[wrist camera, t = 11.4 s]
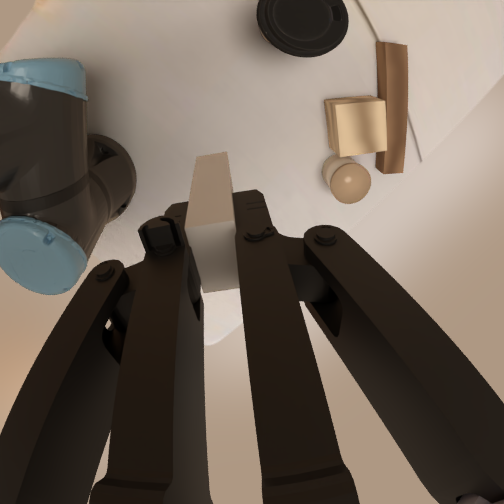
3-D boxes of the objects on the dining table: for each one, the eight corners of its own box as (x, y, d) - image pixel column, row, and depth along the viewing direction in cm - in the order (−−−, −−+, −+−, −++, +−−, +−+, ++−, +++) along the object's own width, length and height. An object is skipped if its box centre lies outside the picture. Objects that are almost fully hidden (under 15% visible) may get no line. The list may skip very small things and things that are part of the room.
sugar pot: (320, 189, 50) (331, 206, 45) (319, 153, 46) (331, 166, 41) (355, 185, 50) (369, 201, 45) (357, 150, 46) (372, 163, 41)
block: (328, 147, 45) (340, 157, 41) (323, 99, 40) (335, 105, 36) (372, 140, 45) (386, 150, 41) (369, 95, 40) (385, 100, 36)
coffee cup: (324, 35, 34) (371, 31, 22) (273, 69, 37) (300, 75, 25) (284, -12, 29) (316, -40, 17) (231, 21, 32) (238, 3, 20)
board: (375, 167, 48) (383, 174, 45) (375, 42, 34) (385, 42, 32) (394, 166, 48) (402, 172, 45) (397, 44, 34) (407, 45, 32)
